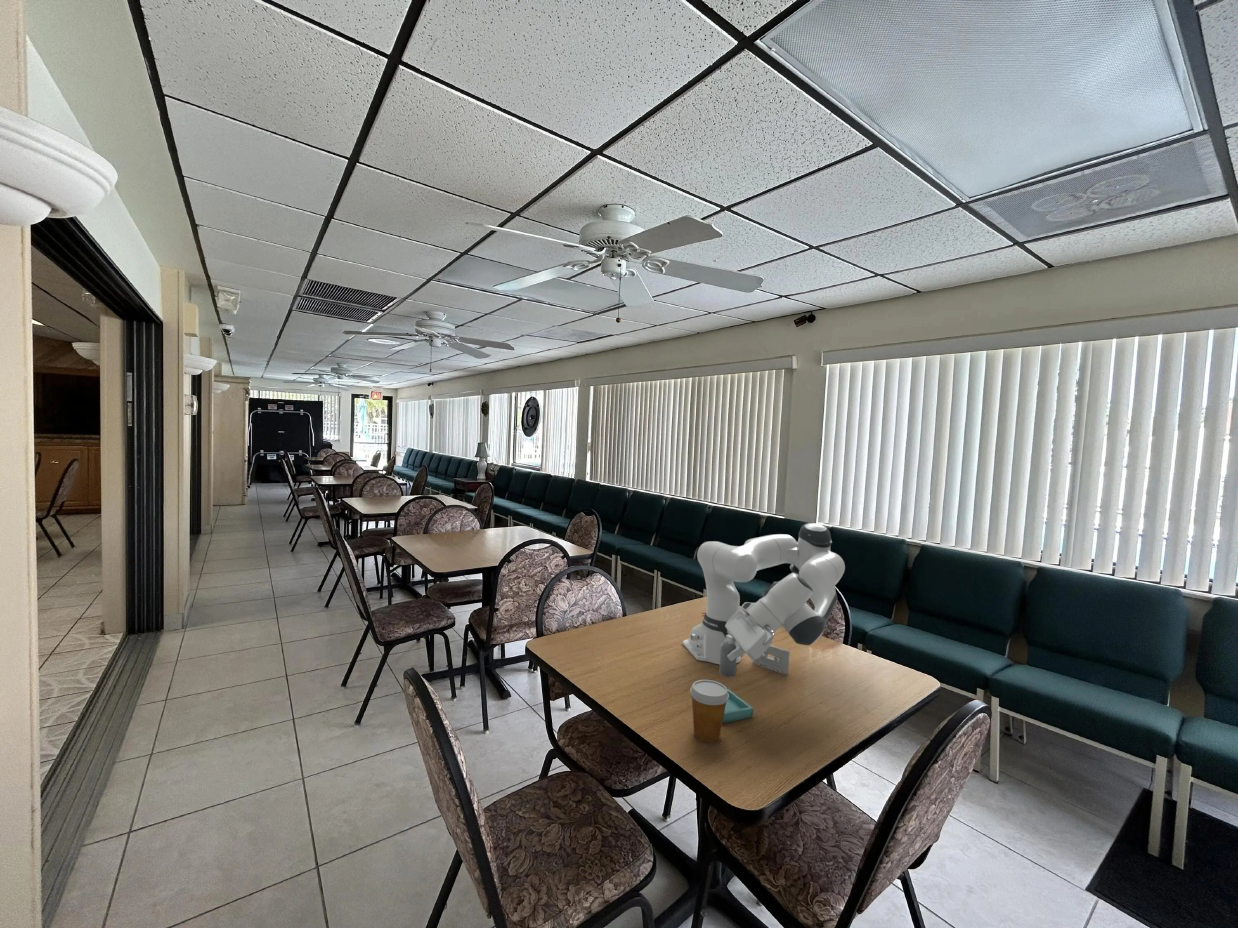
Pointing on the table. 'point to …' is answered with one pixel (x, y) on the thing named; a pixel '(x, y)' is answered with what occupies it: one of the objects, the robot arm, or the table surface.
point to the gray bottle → (725, 664)
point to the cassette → (774, 660)
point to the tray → (736, 709)
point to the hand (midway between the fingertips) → (725, 653)
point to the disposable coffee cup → (708, 709)
